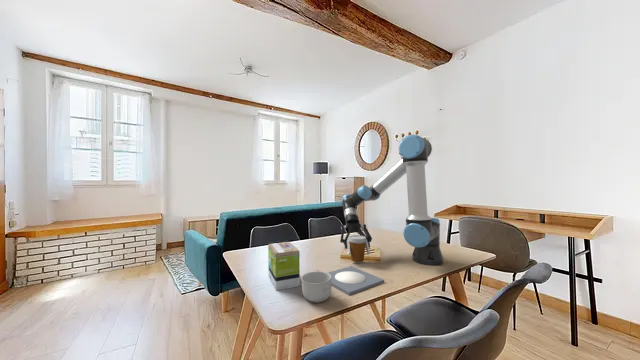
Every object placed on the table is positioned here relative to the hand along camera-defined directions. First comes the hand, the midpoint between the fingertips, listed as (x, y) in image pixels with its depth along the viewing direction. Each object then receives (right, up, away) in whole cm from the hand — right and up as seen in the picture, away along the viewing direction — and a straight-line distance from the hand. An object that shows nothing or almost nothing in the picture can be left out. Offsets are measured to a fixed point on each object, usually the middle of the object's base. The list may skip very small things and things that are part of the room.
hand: (358, 253), depth 122 cm
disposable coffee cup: (0, -5, +3) cm, 6 cm away
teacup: (-21, -6, -34) cm, 40 cm away
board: (-7, -5, -19) cm, 21 cm away
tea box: (-35, -6, -21) cm, 41 cm away
